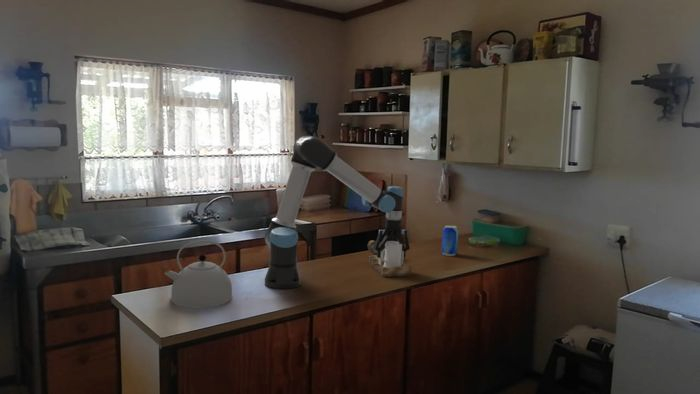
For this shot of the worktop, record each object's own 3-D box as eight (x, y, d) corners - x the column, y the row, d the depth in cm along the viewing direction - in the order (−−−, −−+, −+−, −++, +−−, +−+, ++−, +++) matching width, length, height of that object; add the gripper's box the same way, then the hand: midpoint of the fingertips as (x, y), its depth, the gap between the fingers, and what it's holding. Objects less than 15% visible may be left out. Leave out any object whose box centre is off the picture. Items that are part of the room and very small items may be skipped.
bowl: (402, 259, 268) (403, 241, 267) (374, 262, 259) (375, 243, 258) (387, 253, 280) (388, 235, 278) (360, 256, 271) (361, 237, 269)
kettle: (166, 311, 181) (166, 249, 178) (163, 291, 201) (162, 235, 198) (237, 304, 190) (238, 246, 187) (227, 286, 211) (227, 233, 208)
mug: (385, 271, 238) (387, 246, 237) (374, 266, 245) (376, 242, 243) (404, 268, 245) (406, 243, 243) (393, 263, 252) (394, 240, 250)
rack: (382, 276, 235) (383, 267, 235) (369, 263, 256) (369, 255, 256) (410, 275, 239) (411, 267, 238) (395, 263, 260) (395, 255, 259)
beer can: (458, 254, 285) (460, 226, 283) (453, 257, 278) (455, 228, 276) (444, 251, 289) (446, 224, 287) (438, 254, 282) (440, 226, 280)
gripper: (373, 220, 236) (370, 266, 239) (418, 220, 241) (415, 265, 244) (368, 217, 243) (366, 262, 246) (413, 217, 249) (410, 261, 252)
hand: (390, 264), depth 245 cm, fingers open, 10 cm apart
